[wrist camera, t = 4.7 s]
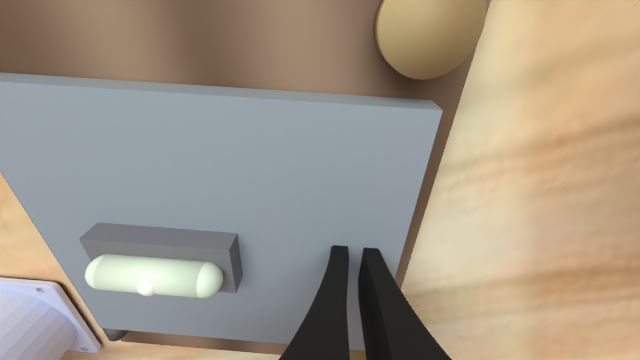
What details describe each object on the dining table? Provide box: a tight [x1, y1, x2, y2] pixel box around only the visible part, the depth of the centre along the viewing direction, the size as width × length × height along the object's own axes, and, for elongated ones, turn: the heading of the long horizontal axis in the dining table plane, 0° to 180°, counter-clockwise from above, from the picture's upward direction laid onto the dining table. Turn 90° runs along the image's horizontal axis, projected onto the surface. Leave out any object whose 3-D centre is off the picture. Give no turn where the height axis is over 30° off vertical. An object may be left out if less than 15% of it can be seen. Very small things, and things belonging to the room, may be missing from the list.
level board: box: [0, 73, 443, 351], centre depth 12 cm, size 16×14×3 cm
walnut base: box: [0, 0, 491, 360], centre depth 13 cm, size 18×22×3 cm
